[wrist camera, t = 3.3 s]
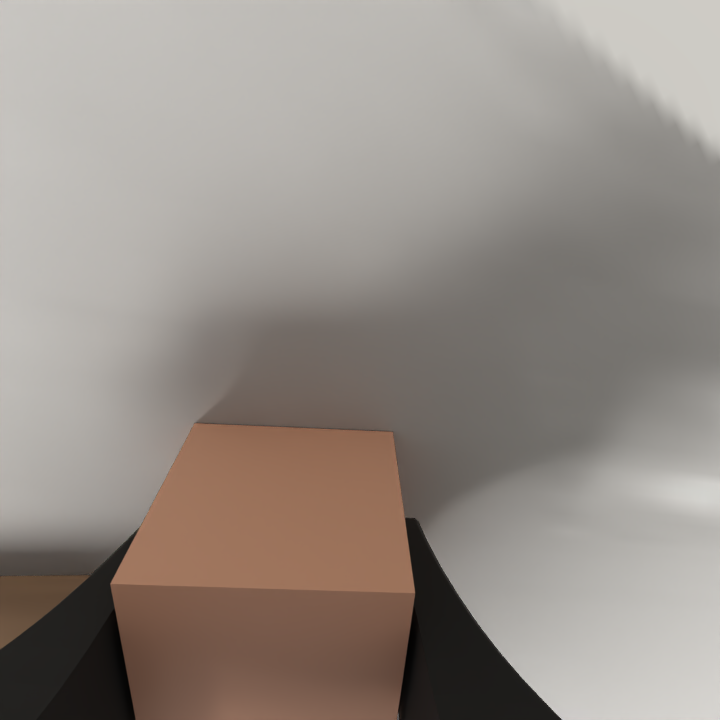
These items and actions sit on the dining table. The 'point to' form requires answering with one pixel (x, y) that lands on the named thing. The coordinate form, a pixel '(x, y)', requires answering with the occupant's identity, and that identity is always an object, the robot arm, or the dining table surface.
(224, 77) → the dining table surface
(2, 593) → the walnut base block
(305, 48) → the dining table surface
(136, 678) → the terracotta block
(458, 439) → the dining table surface
